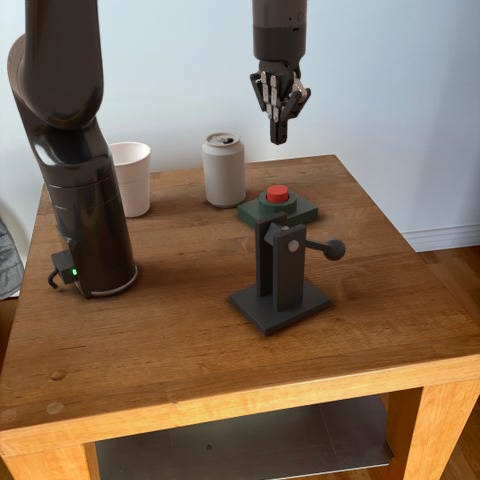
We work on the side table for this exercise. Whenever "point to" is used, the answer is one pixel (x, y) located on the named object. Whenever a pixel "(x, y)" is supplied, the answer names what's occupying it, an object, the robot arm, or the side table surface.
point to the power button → (277, 194)
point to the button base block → (278, 209)
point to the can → (224, 169)
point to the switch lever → (312, 243)
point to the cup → (133, 176)
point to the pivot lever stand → (279, 280)
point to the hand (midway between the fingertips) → (278, 142)
